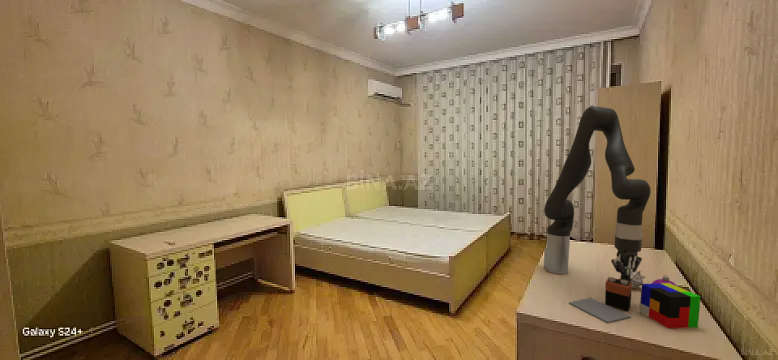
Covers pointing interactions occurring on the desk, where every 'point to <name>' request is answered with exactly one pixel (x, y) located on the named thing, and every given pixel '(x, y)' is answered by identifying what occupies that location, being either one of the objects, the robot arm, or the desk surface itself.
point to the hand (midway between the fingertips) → (625, 284)
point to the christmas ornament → (664, 281)
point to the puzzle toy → (670, 305)
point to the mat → (600, 310)
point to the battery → (618, 293)
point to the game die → (636, 279)
